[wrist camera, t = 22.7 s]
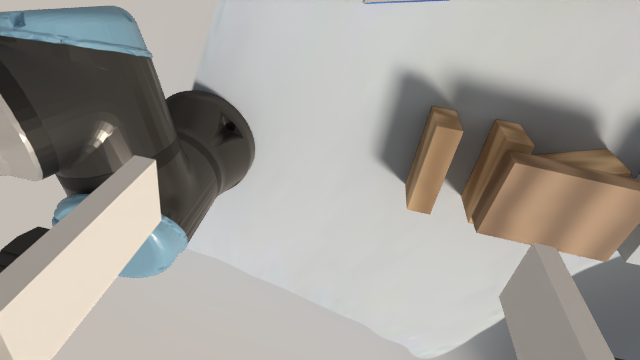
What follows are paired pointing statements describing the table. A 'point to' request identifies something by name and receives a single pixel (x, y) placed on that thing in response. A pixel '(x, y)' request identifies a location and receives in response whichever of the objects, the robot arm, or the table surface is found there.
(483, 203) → the slab
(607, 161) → the skid
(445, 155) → the bed
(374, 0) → the medicine box
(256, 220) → the table surface
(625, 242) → the block
